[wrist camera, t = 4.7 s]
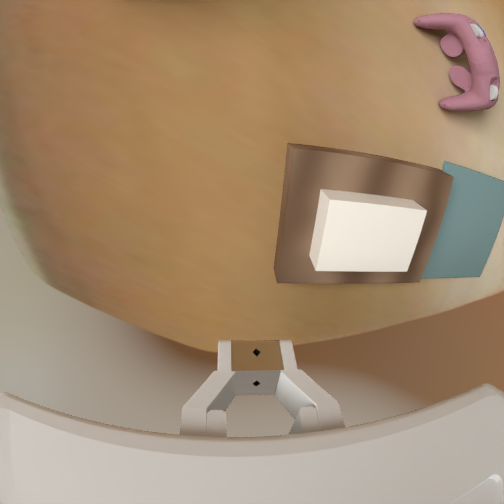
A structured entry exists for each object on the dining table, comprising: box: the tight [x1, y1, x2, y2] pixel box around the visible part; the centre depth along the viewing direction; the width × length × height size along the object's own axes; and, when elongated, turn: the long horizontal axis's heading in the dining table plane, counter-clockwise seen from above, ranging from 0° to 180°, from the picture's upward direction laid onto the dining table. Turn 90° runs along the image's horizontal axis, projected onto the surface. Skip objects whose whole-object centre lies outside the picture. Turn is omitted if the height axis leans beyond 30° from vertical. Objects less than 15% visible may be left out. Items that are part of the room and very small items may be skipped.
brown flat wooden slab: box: [274, 143, 454, 284], centre depth 24 cm, size 16×12×2 cm
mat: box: [421, 161, 504, 278], centre depth 26 cm, size 14×14×1 cm
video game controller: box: [414, 13, 500, 111], centre depth 15 cm, size 10×5×7 cm, turn 22°
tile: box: [309, 189, 427, 272], centre depth 22 cm, size 9×6×2 cm, turn 86°
